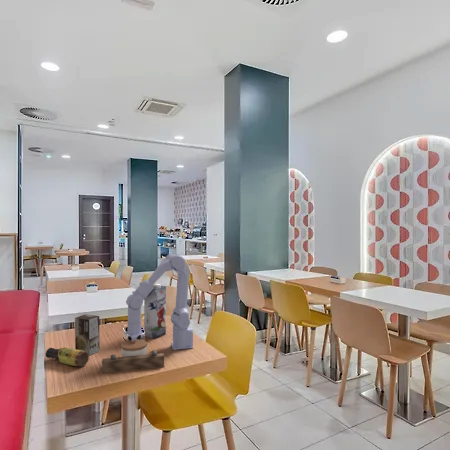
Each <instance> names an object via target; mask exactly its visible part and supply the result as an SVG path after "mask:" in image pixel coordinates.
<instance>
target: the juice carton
mask: <svg viewBox="0 0 450 450" xmlns="http://www.w3.org/2000/svg"><path fill="white" fill-rule="evenodd" d="M166 294H167V286H166V285H162V284H160V283H156V284H155V283H154V285H153V290H152V291H151V292H150V293H149V295H148V296H147V297H146V298H145V299H144V300H143V303H144V304H143V305H144V309H143V311H144V313H143V315H144V316H143V317H144V320H143V321H144V325H143V326H144V327H143V328H144V330H143V331H145V333H144V337H145V336H146V338H151V339H158V338H160V337H162V336H165V335H166V334H167V333H166V332H167V309H166V308H167V299H166V298H167V295H166Z"/></svg>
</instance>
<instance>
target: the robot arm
mask: <svg viewBox="0 0 450 450" xmlns="http://www.w3.org/2000/svg"><path fill="white" fill-rule="evenodd" d="M169 271H175V272H176V274H177V284H176V296H175V298H176V299H175V307H174V308H173V313H172V314H171V317H170V321H171V323H172V343H171V348H172V350H173V351H174V350H175V351H176V350H186V349H193V348H194V339H193V338H194V331H193V327H192V326H190V325H191V319H190V317H189V315H190V312H189V310H188V297H189V295H188V294H189V280H190V269H189V266H188V265H187V262H186V259H185V258H184V257H183V256H182V255H177V254H174V253H168V254H167V255H166V256H165V258H162V260H161V261H160V264H159V265H158V266H157V267H156V269H155V270H154V271H153V273H151V275H150V277H148V279H147V280H146V279H145V280H143V281H140V282H139V284H138V286H137V288H136V289H135V290H133V291H131V294H129V295H128V296H127V298H126V300H125V303H126V305H127V330H126V331H125V332H124V334H125V335H127V341H129V340H132V342H133V340H135V341H137V339H140V340H142V306H143V305H144V304H143V303H144V299H145V298H146V297H147V296H148V295H149V293H150V292H151V291H152V290H153V285H155V283H156V282H157V281H158V280H160V278H162V276H163V275H164V274H165V273H166V272H169Z"/></svg>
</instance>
